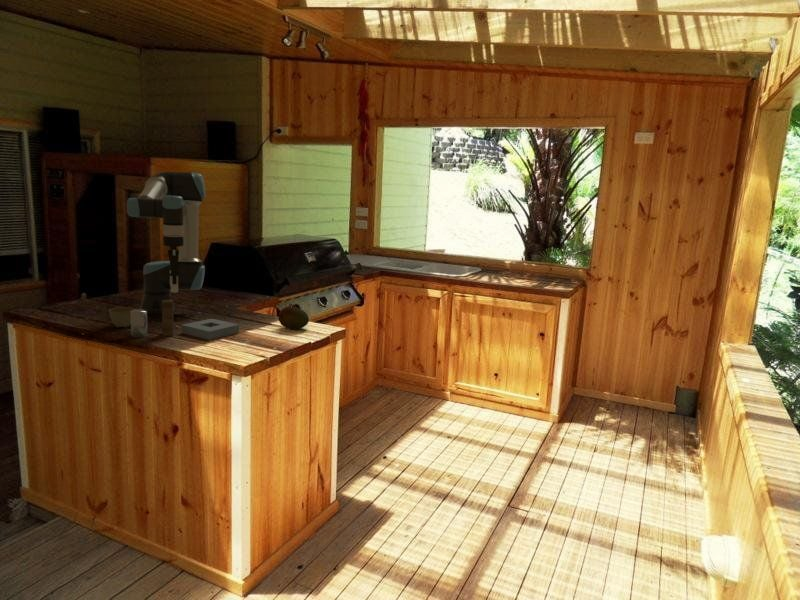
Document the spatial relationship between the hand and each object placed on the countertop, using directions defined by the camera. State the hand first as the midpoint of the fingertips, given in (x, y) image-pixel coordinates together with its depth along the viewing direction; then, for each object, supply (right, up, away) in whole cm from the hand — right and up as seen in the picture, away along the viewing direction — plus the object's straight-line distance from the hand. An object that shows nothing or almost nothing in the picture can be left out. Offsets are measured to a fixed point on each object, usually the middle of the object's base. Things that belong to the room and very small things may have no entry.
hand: (173, 289), depth 240 cm
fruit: (+43, -17, +24) cm, 53 cm away
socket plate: (+12, -18, +9) cm, 23 cm away
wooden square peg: (-3, -18, +2) cm, 19 cm away
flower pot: (-26, -15, +11) cm, 32 cm away
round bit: (-13, -18, -1) cm, 23 cm away
